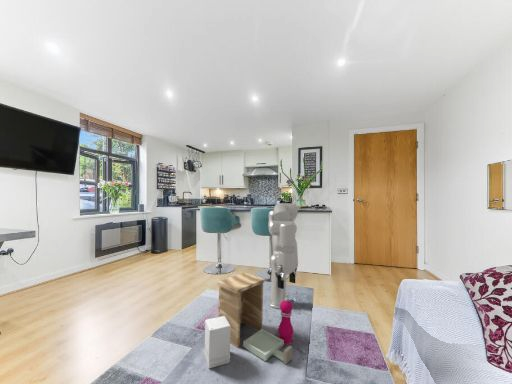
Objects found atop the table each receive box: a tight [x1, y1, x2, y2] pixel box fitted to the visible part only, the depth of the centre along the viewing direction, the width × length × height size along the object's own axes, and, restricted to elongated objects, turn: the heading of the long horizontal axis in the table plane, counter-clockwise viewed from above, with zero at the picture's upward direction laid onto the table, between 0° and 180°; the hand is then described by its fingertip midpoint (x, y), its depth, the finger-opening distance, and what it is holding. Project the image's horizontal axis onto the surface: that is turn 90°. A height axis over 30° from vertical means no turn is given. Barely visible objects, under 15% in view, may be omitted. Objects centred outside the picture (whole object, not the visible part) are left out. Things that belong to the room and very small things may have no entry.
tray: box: [242, 328, 293, 365], centre depth 99 cm, size 13×20×5 cm, turn 48°
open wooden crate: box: [217, 272, 265, 349], centre depth 112 cm, size 19×14×26 cm
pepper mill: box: [277, 297, 294, 345], centre depth 107 cm, size 7×7×20 cm
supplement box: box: [204, 316, 231, 369], centre depth 94 cm, size 9×9×15 cm
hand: (286, 285), depth 107 cm, fingers open, 9 cm apart
